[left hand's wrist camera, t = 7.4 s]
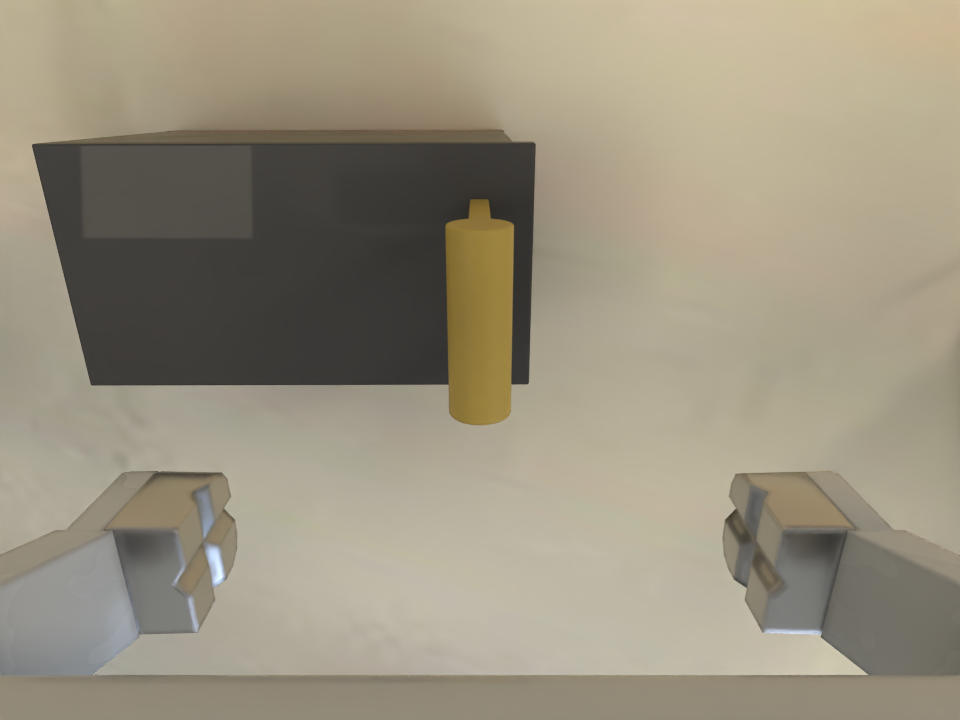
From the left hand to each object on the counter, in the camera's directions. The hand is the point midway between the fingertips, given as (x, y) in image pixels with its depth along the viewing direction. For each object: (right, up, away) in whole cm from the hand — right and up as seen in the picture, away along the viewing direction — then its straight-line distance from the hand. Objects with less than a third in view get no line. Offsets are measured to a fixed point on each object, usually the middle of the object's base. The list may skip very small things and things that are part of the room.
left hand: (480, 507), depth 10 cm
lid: (-7, +6, +15) cm, 18 cm away
